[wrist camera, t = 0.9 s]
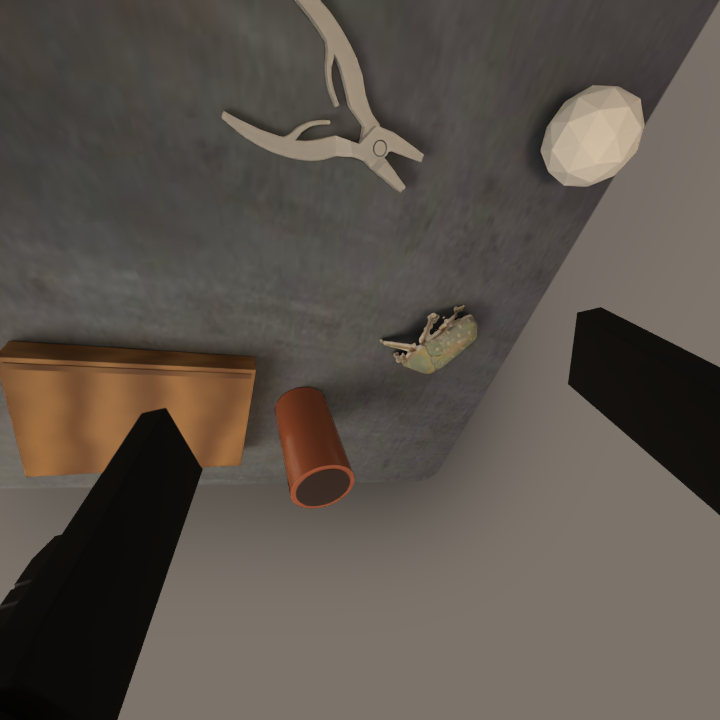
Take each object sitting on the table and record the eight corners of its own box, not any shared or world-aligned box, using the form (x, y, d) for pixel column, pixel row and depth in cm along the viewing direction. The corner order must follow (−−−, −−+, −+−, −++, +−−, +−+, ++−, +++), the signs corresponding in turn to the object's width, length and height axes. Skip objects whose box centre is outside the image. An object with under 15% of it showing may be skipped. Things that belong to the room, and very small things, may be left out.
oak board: (35, 457, 37) (25, 477, 35) (8, 340, 30) (-7, 357, 28) (239, 449, 45) (240, 465, 43) (254, 356, 38) (256, 370, 36)
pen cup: (270, 427, 44) (285, 512, 35) (279, 386, 41) (297, 468, 32) (319, 426, 47) (345, 506, 38) (331, 387, 44) (362, 464, 35)
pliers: (282, -44, 22) (447, 117, 30) (278, -36, 23) (438, 117, 31) (220, 121, 25) (383, 226, 33) (219, 121, 26) (377, 222, 34)
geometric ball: (533, 115, 36) (596, 43, 28) (602, 144, 37) (682, 82, 29) (514, 184, 35) (573, 131, 28) (584, 212, 36) (660, 168, 29)
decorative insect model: (400, 296, 38) (425, 324, 35) (468, 301, 44) (494, 326, 41) (370, 356, 44) (390, 386, 41) (434, 354, 50) (455, 379, 47)
